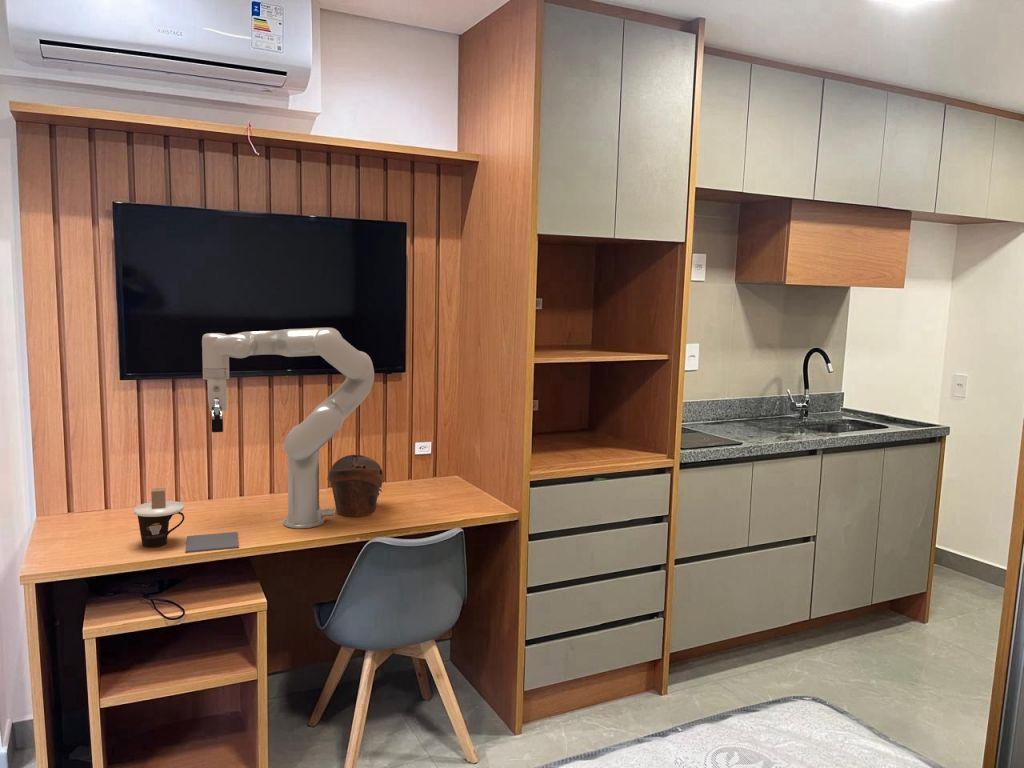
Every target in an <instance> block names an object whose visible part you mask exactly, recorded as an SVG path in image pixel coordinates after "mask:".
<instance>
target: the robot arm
mask: <svg viewBox="0 0 1024 768" xmlns="http://www.w3.org/2000/svg"><path fill="white" fill-rule="evenodd" d="M201 338H202V339H201V347H202V348H201V349H202V352H201V353H202V379H203V380H206V381H207V384H206V385H207V399H208V400H207V401H208V409H209V412H211V413H212V414H211V419H210V421H211V432H212V433H223V432H224V419H223V418H224V417H223V411H224V413H225V412H227V410H228V408H227V407H228V400H227V399H228V397H227V381H226V380H228V379H230V358H233V359H234V358H235V359H244V358H245V359H246V358H247V357H249V356H260V355H261V356H262V355H263V356H264V355H277V356H278V355H279V356H284V357H288V358H291V357H292V358H294V357H310V356H311V357H313V356H315V357H316V356H320V357H322V358H323V359H324V360H325V361H326V362H327V363H328V364H329V365H331V366H332V367H333V368H335V369H336V370H337V371H339V372H340V373H341V374H342V375H343V376H345V380H344V381H343V382H342V383H341V384H340V385H339V386H338V387H337V388H336V389H335V390H334V391H333V392H332V393H331V394H330V395H328V396H327V398H325V399H324V400H323V401H322V402H320V403H319V404H318V405H316V407H315V408H314V410H313V411H312V412H311V413H310V414H309V415H308V416H307V417H306V418H305V419H304V420H302V422H301V423H299V424H296V425H295V426H293V427H292V428H291V429H290V430H289V432H288V433H287V435H286V437H285V439H284V442H283V443H284V451H285V454H286V455H287V513H288V514H287V517H285V518H284V519H283V520H282V524H283V526H285V527H287V528H290V529H292V528H293V529H309V528H311V529H312V528H315V527H319V526H322V525H323V524H324V523H325V517H335V509H330V508H324V509H323V508H321V507H320V449H322V447H323V446H325V445H326V444H327V442H329V440H331V439H332V438H334V437H335V435H336V434H337V433H338V432H339V431H340V429H341V428H342V425H343V423H344V422H345V420H346V419H347V418H348V417H349V415H351V414H352V413H353V412H354V411H355V410H356V409H357V408H358V407H359V406H360V405H361V404H362V403H363V402H364V401H365V399H366V398H367V397H368V395H369V394H370V392H371V390H372V387H373V384H374V382H375V369H374V365H373V364H374V363H373V361H372V359H371V357H370V356H369V355H368V354H367V353H366V352H364V351H361V350H358V349H357V348H355V346H353V345H351V343H349V342H348V341H347V340H346V339H345V338H343V336H342V334H341V333H340V331H339V330H337V328H334V327H312V328H311V327H310V328H309V327H308V328H288V329H278V330H259V331H255V330H254V331H242V332H238V333H232V334H226V333H221V332H215V333H214V332H210V333H208V332H207V333H205V334H203V335H202V337H201Z"/></svg>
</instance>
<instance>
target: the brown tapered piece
mask: <svg viewBox="0 0 1024 768" xmlns="http://www.w3.org/2000/svg"><path fill="white" fill-rule="evenodd" d="M383 472H384V471H383V468H382V467H381V466H380V464H379V463H378V462H377V461H376V460H374V459H372V458H370V457H368V456H365V455H361V454H350V455H349V454H348V455H345V456H342V457H340V458H339V459H337V461H335V462H334V463H333V464H332V466H331V468H330V470H329V471H328V476H327V482H328V483H329V482H330V485H331V489H332V495H333V500H334V505H335V513H336V514H338V515H340V516H344V517H345V516H346V517H350V518H351V517H352V518H354V517H355V518H356V517H364V516H365V517H366V516H368V515H369V516H370V515H372V514H373V513H374V512H375V511H376V507H377V501H378V497H379V496H380V492H381V493H383V491H382V486H383V479H384V473H383Z"/></svg>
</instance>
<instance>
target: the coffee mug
mask: <svg viewBox="0 0 1024 768" xmlns="http://www.w3.org/2000/svg"><path fill="white" fill-rule="evenodd" d="M174 515H181V517H182V519H181V520H180V522H179V523H178V524H176V525H175V526H174V527H173V528H171V529H169V526H170V525H169V524H170V520H171V518H172V517H173V516H174ZM184 520H185V515H184V513H183V512H182V511H181V512H178V513H175V514H172V515H167V516H158V517H143V516H138V515H137V521H138V526H139V533H140V539H141V545H142V547H143V548H147V549H148V548H149V549H151V548H153V549H156V548H160V547H163V546H165V545H167V544H168V536H169V535H170V533H172V532H173V531H175V529H177V528H178V527H180V526H181V525H182V524H183V522H184Z"/></svg>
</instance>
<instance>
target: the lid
mask: <svg viewBox="0 0 1024 768" xmlns="http://www.w3.org/2000/svg"><path fill="white" fill-rule="evenodd" d="M150 493H151V494H150V496H151V501H149V502H145V503H141V504H139V505H136V506H134V507H133V514H134V515H136V516H137V517H138V516H143V517H158V516H167V515H172V514H174V515H176V514H175V513H178V512H181V513H182V511H183V510H184V509H185V504H184V503H183V502H181V501H177V500H167V496H166V493H167V491H166V487H159V488H151V492H150Z"/></svg>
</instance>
